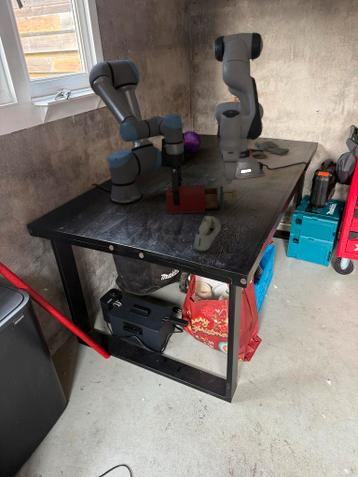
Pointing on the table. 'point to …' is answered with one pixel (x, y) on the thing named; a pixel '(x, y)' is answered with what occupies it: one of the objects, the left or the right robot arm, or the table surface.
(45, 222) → the table surface
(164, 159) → the handbag
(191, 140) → the decorative orb
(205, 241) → the ballet flat
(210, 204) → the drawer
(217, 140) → the boot
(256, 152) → the pair of gloves
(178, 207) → the dark red block
